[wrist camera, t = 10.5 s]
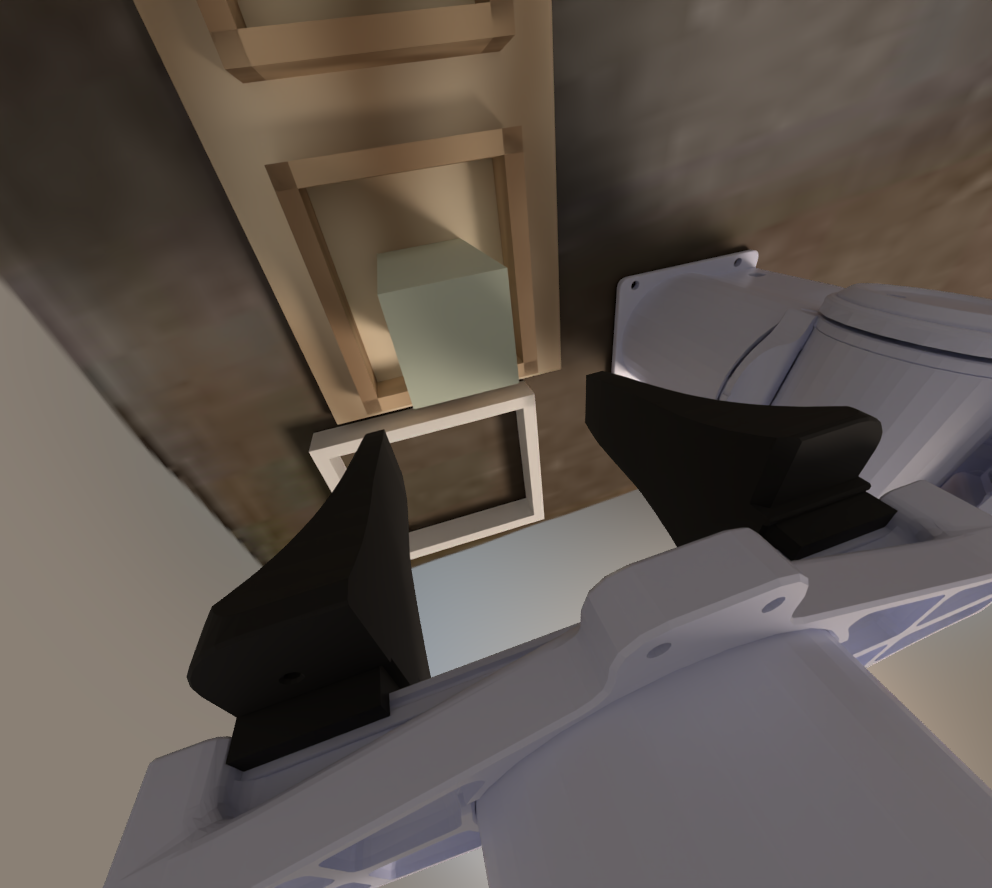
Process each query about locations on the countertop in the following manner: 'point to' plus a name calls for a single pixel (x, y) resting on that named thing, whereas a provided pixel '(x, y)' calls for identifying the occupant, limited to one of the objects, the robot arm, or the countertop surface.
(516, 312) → the wooden divided tray
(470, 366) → the block
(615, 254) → the countertop surface
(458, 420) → the rectangular frame
